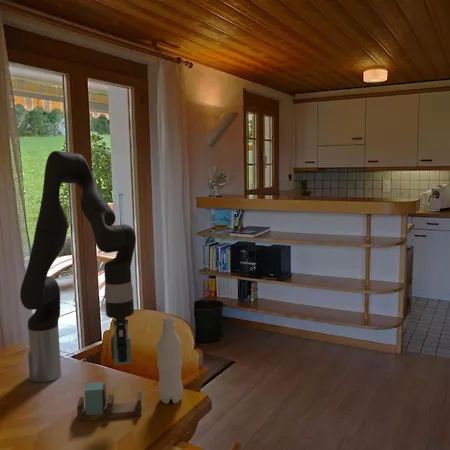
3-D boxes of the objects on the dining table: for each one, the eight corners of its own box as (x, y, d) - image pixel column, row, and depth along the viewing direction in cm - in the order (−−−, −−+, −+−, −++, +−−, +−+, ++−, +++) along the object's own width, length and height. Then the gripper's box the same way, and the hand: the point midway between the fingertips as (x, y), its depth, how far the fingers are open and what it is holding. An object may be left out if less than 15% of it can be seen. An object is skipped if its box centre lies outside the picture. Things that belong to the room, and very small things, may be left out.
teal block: (131, 356, 134) (129, 332, 133) (131, 362, 130) (130, 338, 129) (112, 358, 133) (111, 334, 132) (112, 365, 129) (110, 340, 128)
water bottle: (179, 407, 136) (176, 322, 133) (155, 404, 137) (152, 321, 134) (186, 395, 143) (184, 315, 139) (163, 393, 144) (160, 313, 141)
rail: (77, 421, 129) (77, 405, 128) (80, 412, 134) (79, 397, 133) (141, 415, 131) (140, 400, 131) (141, 406, 136) (141, 391, 136)
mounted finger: (85, 415, 129) (84, 390, 128) (88, 406, 133) (86, 383, 133) (105, 413, 130) (103, 389, 129) (106, 405, 134) (105, 381, 133)
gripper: (134, 303, 123) (137, 366, 125) (132, 290, 137) (135, 347, 139) (104, 306, 122) (108, 370, 124) (105, 292, 135) (109, 350, 137)
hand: (122, 357), depth 131 cm, fingers closed on teal block, 4 cm apart
